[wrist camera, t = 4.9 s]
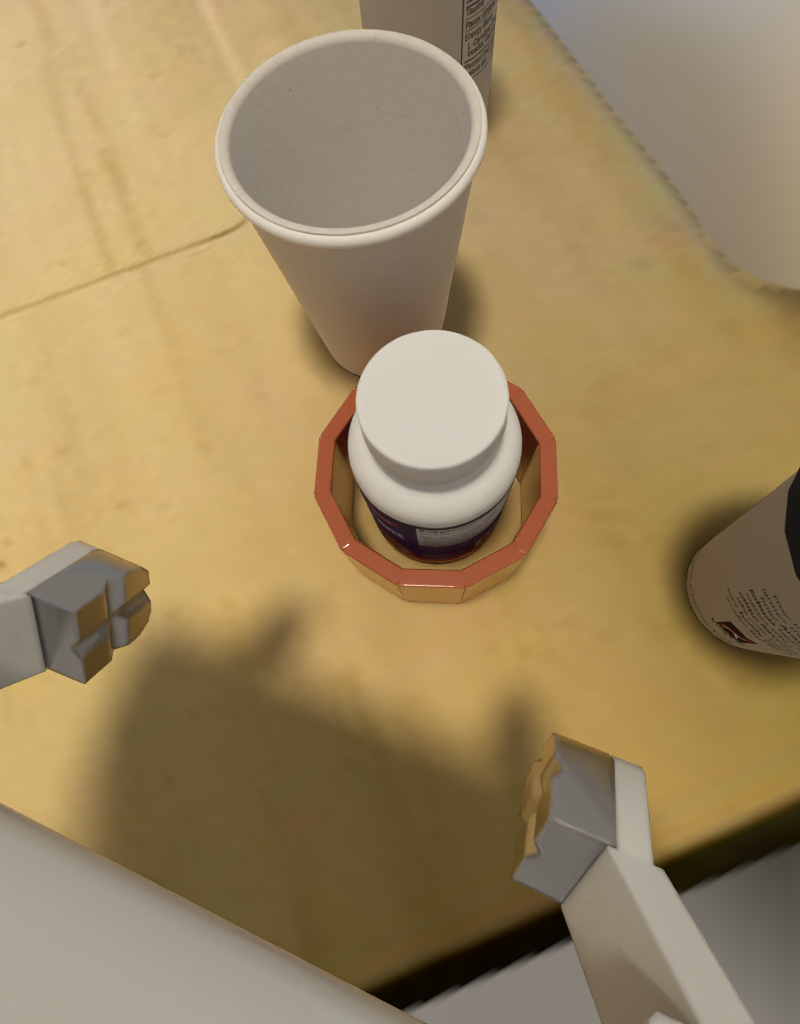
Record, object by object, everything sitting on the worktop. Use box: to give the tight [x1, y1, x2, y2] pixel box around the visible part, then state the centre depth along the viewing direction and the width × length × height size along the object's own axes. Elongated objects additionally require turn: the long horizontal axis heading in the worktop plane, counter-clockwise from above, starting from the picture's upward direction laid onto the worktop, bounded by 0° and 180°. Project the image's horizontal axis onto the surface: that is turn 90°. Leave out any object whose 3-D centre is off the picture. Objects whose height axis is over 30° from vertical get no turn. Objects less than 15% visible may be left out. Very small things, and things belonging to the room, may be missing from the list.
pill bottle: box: [348, 330, 522, 563], centre depth 18 cm, size 5×5×10 cm
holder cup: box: [314, 381, 558, 603], centre depth 21 cm, size 8×8×4 cm
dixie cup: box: [215, 29, 488, 376], centre depth 21 cm, size 8×8×10 cm
